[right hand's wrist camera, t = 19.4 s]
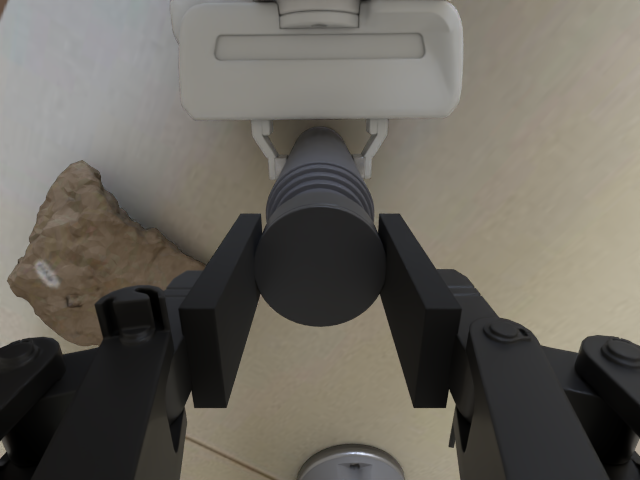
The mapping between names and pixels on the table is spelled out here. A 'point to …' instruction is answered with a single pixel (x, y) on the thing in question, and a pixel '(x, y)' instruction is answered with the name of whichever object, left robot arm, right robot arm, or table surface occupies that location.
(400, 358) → the right robot arm
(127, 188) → the table surface
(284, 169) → the bottle
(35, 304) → the stone
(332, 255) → the cap
